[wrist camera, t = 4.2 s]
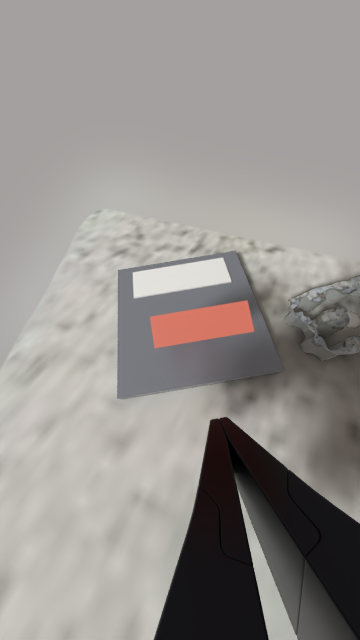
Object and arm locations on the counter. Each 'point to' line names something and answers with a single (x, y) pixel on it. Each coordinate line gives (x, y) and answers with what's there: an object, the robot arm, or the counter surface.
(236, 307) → the lever
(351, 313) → the grey lumpy stone piece
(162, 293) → the base
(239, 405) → the counter surface
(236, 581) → the robot arm
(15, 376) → the counter surface
